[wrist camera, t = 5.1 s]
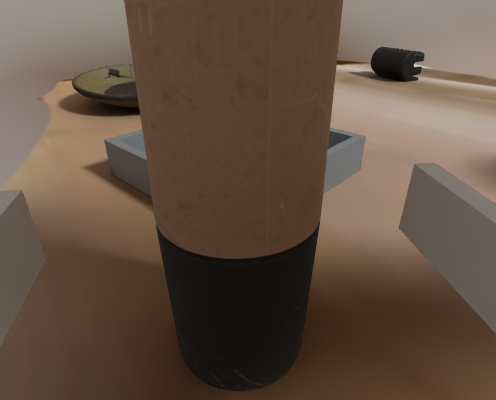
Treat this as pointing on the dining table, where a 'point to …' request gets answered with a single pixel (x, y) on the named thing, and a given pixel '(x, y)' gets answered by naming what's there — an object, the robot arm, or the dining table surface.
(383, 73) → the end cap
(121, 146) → the parts tray
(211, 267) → the travel mug
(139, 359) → the dining table surface
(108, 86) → the oil lamp
